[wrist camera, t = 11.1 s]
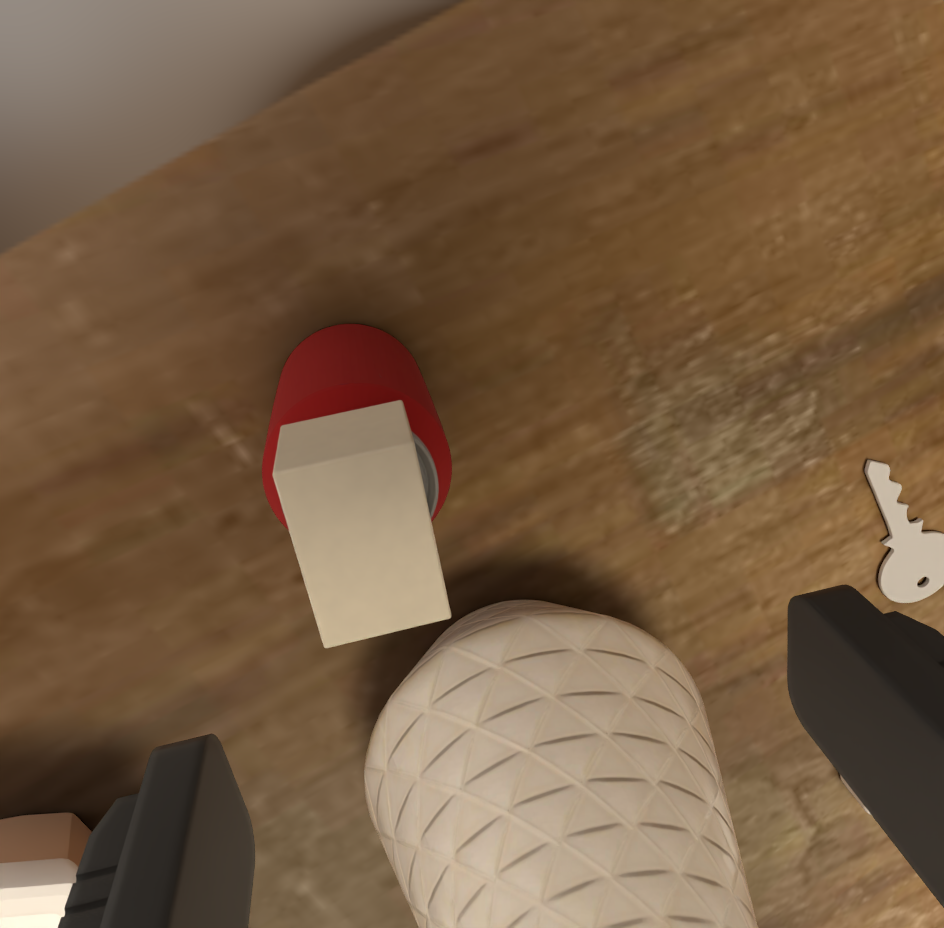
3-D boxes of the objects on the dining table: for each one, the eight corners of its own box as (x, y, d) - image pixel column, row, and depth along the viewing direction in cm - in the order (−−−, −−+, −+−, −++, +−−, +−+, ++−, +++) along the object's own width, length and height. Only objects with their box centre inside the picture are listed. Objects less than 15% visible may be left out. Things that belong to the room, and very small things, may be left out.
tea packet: (279, 424, 25) (271, 473, 22) (402, 398, 26) (414, 442, 22) (325, 582, 28) (324, 649, 24) (436, 556, 28) (452, 619, 24)
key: (966, 573, 48) (893, 616, 48) (963, 571, 48) (890, 614, 48) (916, 434, 43) (836, 482, 44) (913, 432, 44) (833, 480, 44)
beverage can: (325, 478, 39) (323, 611, 28) (250, 361, 36) (216, 458, 25) (446, 415, 39) (491, 523, 28) (380, 292, 36) (401, 360, 25)
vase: (713, 622, 46) (1030, 1023, 25) (547, 830, 51) (702, 1322, 30) (467, 493, 41) (614, 874, 20) (302, 739, 45) (278, 1271, 24)
